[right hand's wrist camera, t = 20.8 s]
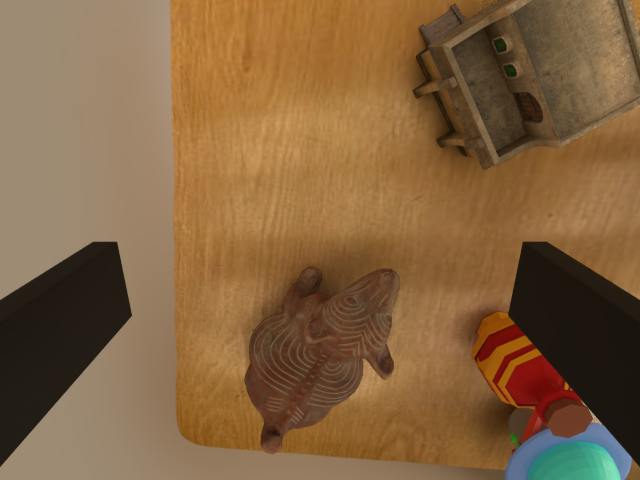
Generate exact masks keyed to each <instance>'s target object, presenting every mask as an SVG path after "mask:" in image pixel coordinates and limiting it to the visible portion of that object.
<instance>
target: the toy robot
mask: <svg viewBox="0 0 640 480" xmlns="http://www.w3.org/2000/svg"><path fill="white" fill-rule="evenodd" d="M508 429H509V432H510V433H511V435H510V438H511V440H512V441H513V442H515V448H516V449H514V450H512V452H513V454H512V456H511V458H510V460H509V462H508V464H507V467H506V472H505V480H625V478H626V477H627V475H628V473H629V471H630V467H631V462H632V457H631V456H630V455H629V454H628V453H627V452H626V451H625V449H624V448H623V447H622V446H621V445H620V444H619V442H618V441H617V440H616V439H615V438H614V437H613V436H612V434H611V433H610V432H609V431H608V430H607V429H606V428H605V426H604V425H602V424H598V423H593V422H591V423H590V424H589V426H588V428H587V429H586V431H585V432H582V433H580V434H578V435H575V436H573V437H570V438H565V437H559V436H553V434H552V433H551V431H550V429H549V427H548V425H546V424H544V423H542V421H541V420H540V418H539V416H538V414H537V412H536V410H535V409H531V408H517V409H516V410H514V411H513V413H512V414H511V416H510V418H509V420H508Z"/></svg>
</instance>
